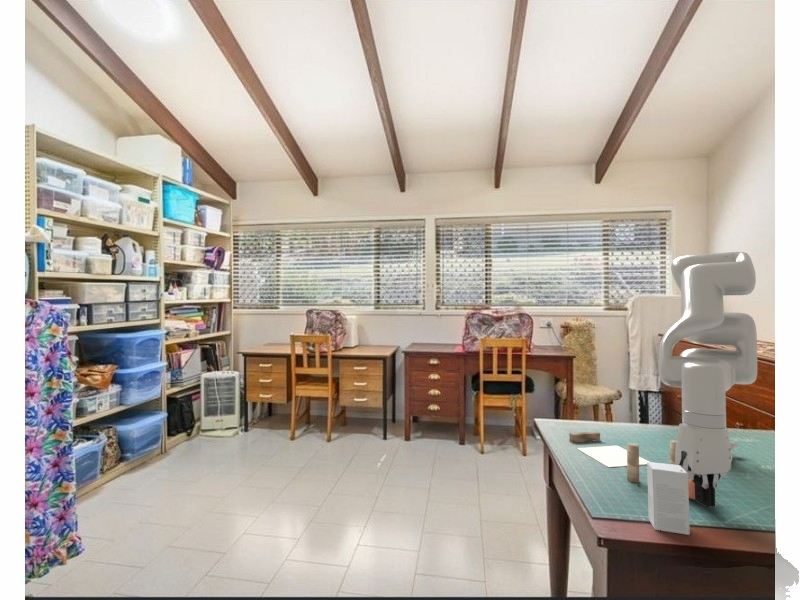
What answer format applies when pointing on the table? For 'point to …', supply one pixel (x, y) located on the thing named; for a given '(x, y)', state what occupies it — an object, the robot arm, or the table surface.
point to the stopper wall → (584, 436)
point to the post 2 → (672, 452)
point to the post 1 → (633, 463)
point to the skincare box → (668, 497)
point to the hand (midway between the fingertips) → (704, 503)
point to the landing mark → (610, 455)
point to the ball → (691, 489)
